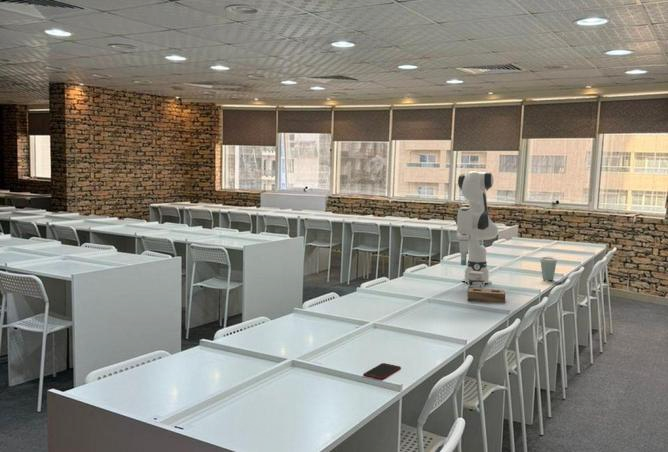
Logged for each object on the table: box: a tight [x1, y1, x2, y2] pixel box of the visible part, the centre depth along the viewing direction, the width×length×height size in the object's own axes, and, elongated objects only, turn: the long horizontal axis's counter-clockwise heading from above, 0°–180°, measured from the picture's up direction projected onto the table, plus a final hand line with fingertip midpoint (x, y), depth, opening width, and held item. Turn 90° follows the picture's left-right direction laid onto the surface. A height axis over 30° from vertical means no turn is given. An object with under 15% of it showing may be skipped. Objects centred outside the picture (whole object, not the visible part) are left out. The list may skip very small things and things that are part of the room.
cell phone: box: [363, 362, 402, 381], centre depth 200 cm, size 8×15×1 cm, turn 146°
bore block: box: [467, 287, 506, 304], centre depth 319 cm, size 12×20×5 cm, turn 75°
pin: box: [460, 252, 468, 266], centre depth 326 cm, size 3×3×8 cm
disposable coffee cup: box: [539, 256, 558, 281], centre depth 380 cm, size 11×11×15 cm
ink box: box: [467, 271, 485, 289], centre depth 341 cm, size 8×5×12 cm, turn 62°
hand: (463, 259), depth 326 cm, fingers closed on pin, 3 cm apart
